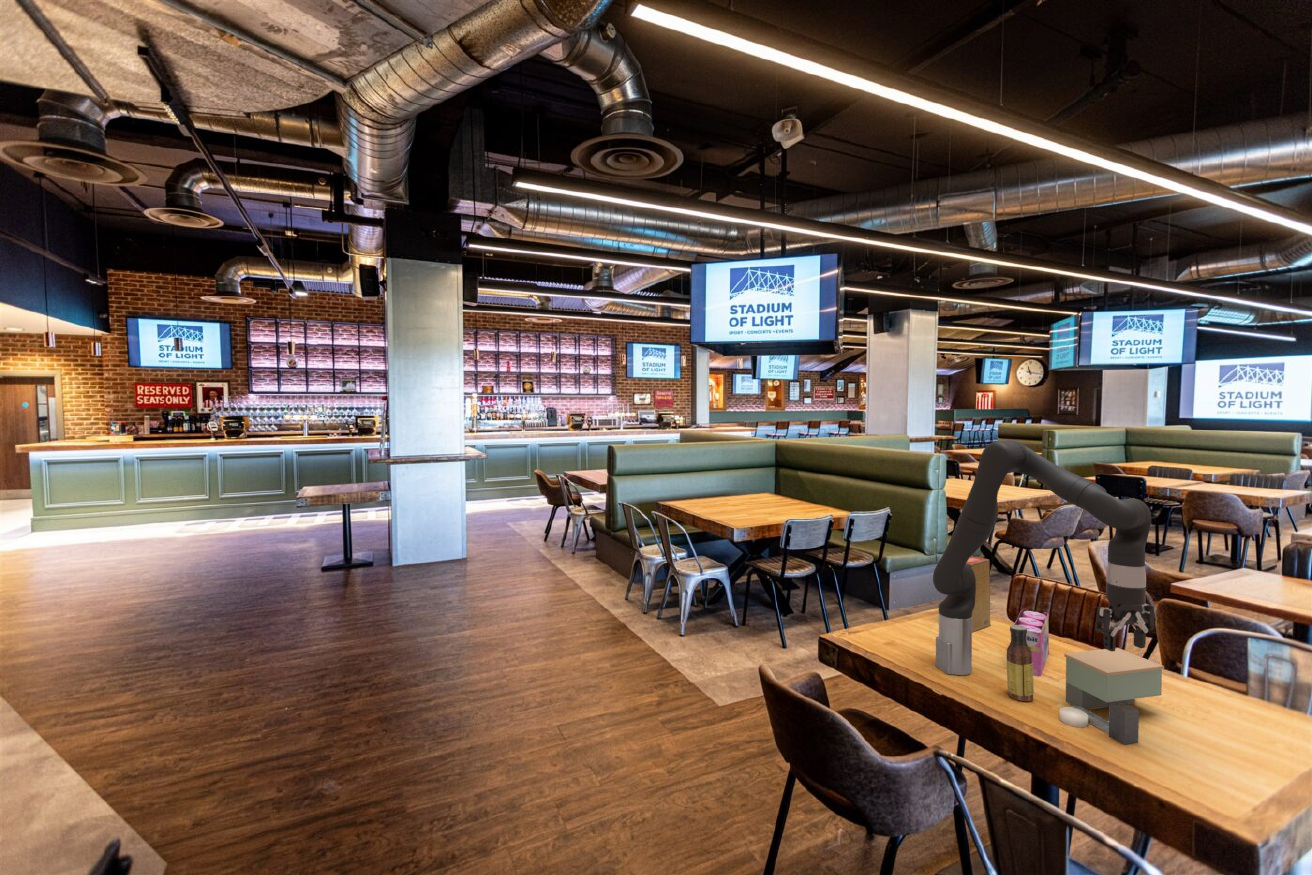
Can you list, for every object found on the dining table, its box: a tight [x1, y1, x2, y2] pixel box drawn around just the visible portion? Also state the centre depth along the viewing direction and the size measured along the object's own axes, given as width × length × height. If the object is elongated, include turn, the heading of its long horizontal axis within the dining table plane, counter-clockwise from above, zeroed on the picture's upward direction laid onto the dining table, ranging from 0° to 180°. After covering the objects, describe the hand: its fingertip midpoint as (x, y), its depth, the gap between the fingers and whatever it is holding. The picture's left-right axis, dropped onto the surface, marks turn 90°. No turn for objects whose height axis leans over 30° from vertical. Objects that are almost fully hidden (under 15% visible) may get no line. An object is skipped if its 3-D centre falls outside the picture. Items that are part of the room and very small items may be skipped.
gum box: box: [1013, 608, 1050, 677], centre depth 190 cm, size 24×8×14 cm, turn 141°
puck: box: [1059, 706, 1089, 729], centre depth 153 cm, size 6×6×2 cm
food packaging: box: [966, 555, 991, 633], centre depth 222 cm, size 13×9×25 cm
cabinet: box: [1063, 647, 1165, 711], centre depth 159 cm, size 18×13×13 cm
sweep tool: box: [1072, 703, 1140, 746], centre depth 149 cm, size 4×15×8 cm, turn 11°
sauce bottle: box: [1006, 624, 1035, 702], centre depth 166 cm, size 7×6×20 cm
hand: (1124, 648), depth 143 cm, fingers open, 8 cm apart
